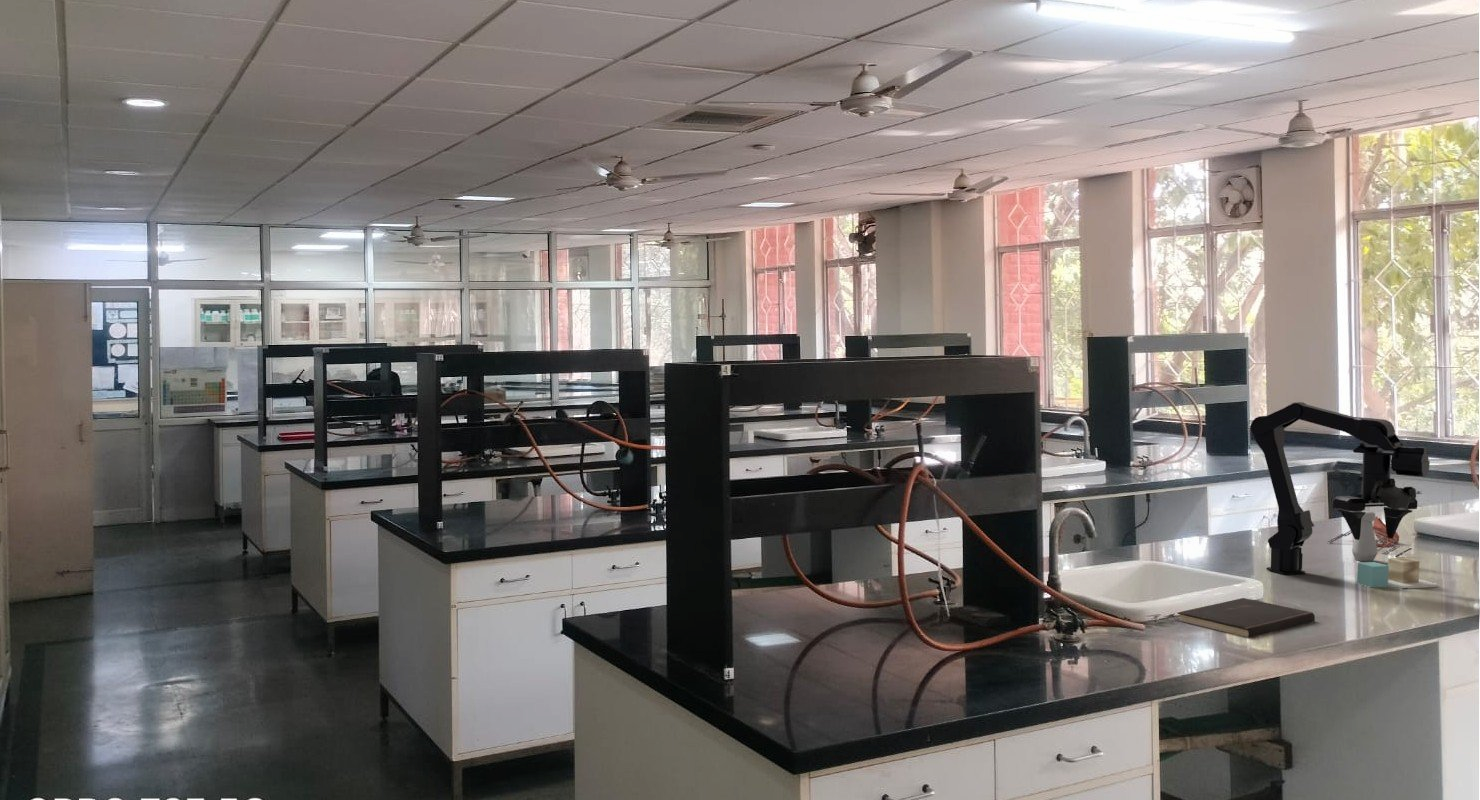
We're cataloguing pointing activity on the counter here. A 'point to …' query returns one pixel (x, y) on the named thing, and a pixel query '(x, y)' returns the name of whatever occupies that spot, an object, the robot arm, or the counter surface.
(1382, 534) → the anatomical diagram
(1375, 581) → the brick
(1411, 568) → the brick
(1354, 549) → the salt shaker
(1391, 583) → the plate
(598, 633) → the counter surface
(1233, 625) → the hardcover book
